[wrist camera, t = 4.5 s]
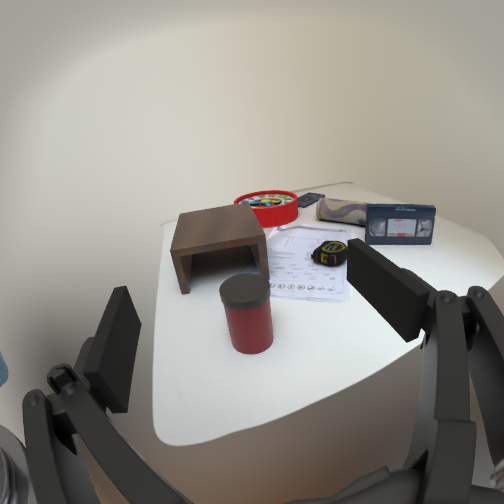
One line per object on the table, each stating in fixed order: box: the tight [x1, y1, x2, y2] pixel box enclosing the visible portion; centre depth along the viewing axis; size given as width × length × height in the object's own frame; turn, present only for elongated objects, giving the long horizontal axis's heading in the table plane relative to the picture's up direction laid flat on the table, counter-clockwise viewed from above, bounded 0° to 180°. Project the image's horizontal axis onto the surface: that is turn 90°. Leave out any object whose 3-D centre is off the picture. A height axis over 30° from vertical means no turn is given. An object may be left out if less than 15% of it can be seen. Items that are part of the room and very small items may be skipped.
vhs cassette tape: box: [365, 204, 436, 245], centre depth 62 cm, size 18×3×10 cm, turn 77°
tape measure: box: [311, 241, 347, 265], centre depth 60 cm, size 7×7×4 cm
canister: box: [219, 273, 273, 354], centre depth 40 cm, size 7×7×10 cm
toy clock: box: [234, 190, 298, 228], centre depth 89 cm, size 20×6×20 cm
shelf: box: [170, 202, 269, 294], centre depth 64 cm, size 18×22×10 cm
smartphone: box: [297, 193, 325, 207], centre depth 101 cm, size 8×1×15 cm
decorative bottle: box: [316, 198, 369, 226], centre depth 76 cm, size 26×8×7 cm, turn 58°
